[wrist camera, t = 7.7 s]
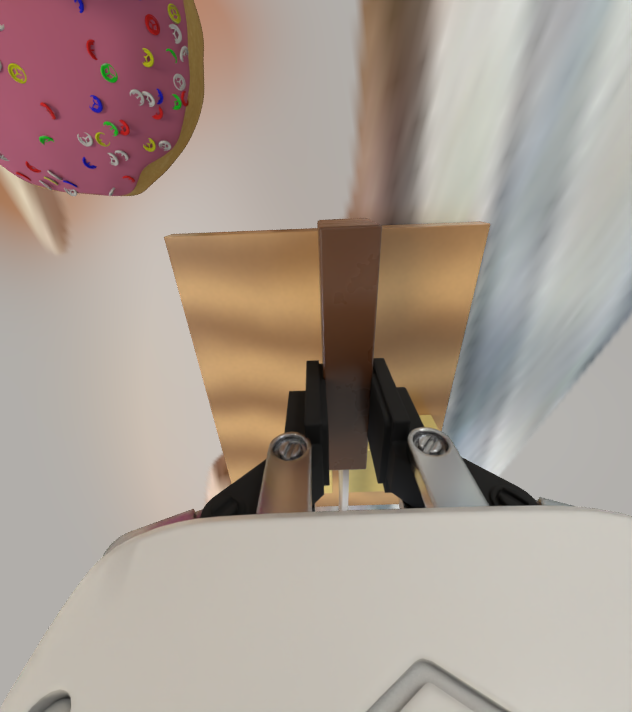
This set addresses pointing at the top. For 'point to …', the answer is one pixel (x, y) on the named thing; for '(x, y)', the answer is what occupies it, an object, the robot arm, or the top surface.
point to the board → (318, 324)
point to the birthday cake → (98, 91)
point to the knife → (348, 337)
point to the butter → (367, 477)
